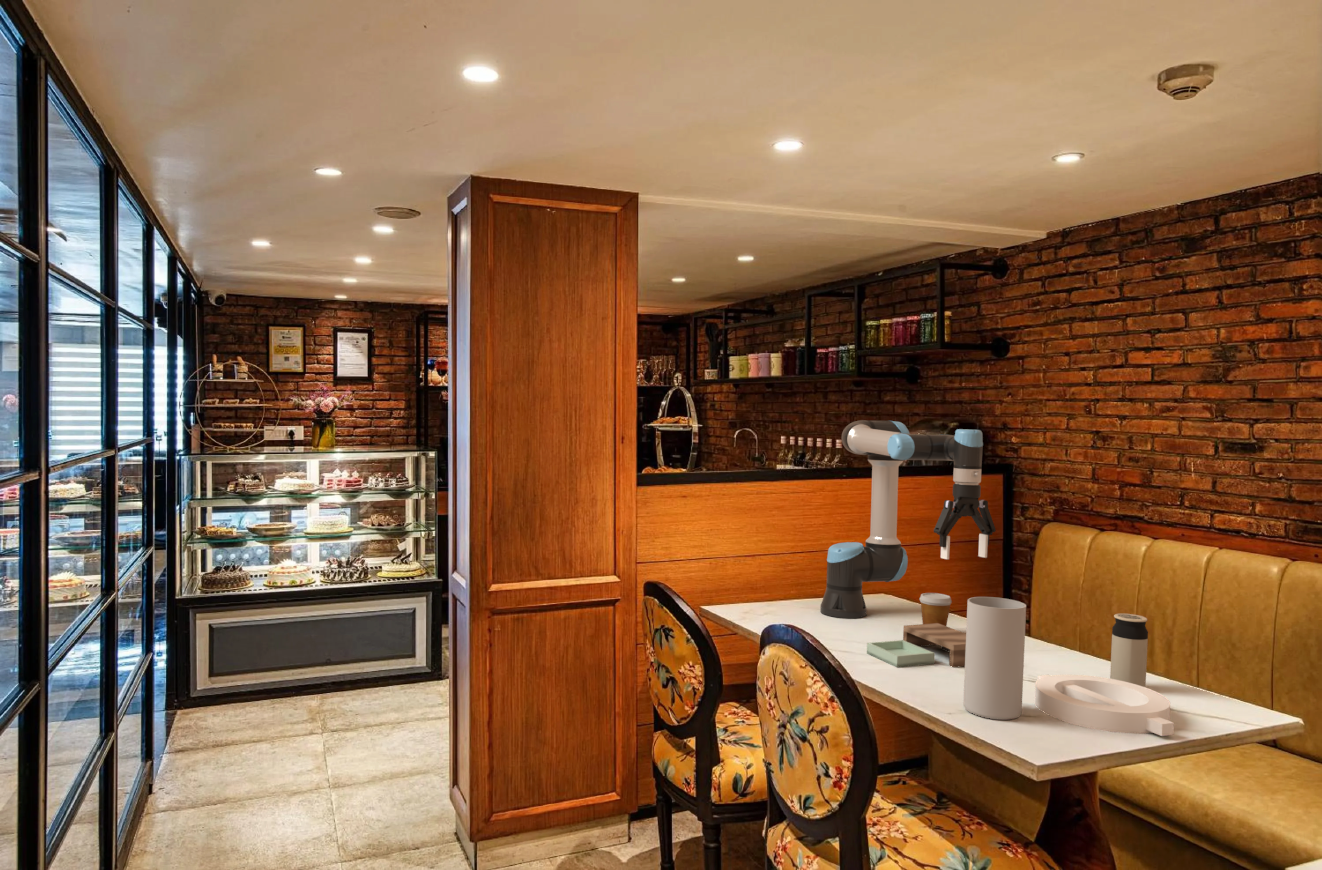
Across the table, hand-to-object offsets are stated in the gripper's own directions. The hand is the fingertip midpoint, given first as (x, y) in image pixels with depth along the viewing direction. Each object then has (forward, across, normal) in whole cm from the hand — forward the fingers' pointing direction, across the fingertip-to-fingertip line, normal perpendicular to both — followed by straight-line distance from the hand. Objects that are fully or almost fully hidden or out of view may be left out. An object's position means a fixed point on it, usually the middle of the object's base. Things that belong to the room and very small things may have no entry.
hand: (963, 557), depth 258 cm
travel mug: (+27, +18, -41) cm, 52 cm away
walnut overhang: (+27, -7, -2) cm, 28 cm away
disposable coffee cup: (+27, +5, +18) cm, 33 cm away
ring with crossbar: (+27, -5, -52) cm, 59 cm away
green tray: (+27, -22, -2) cm, 35 cm away
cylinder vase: (+27, -30, -44) cm, 60 cm away
